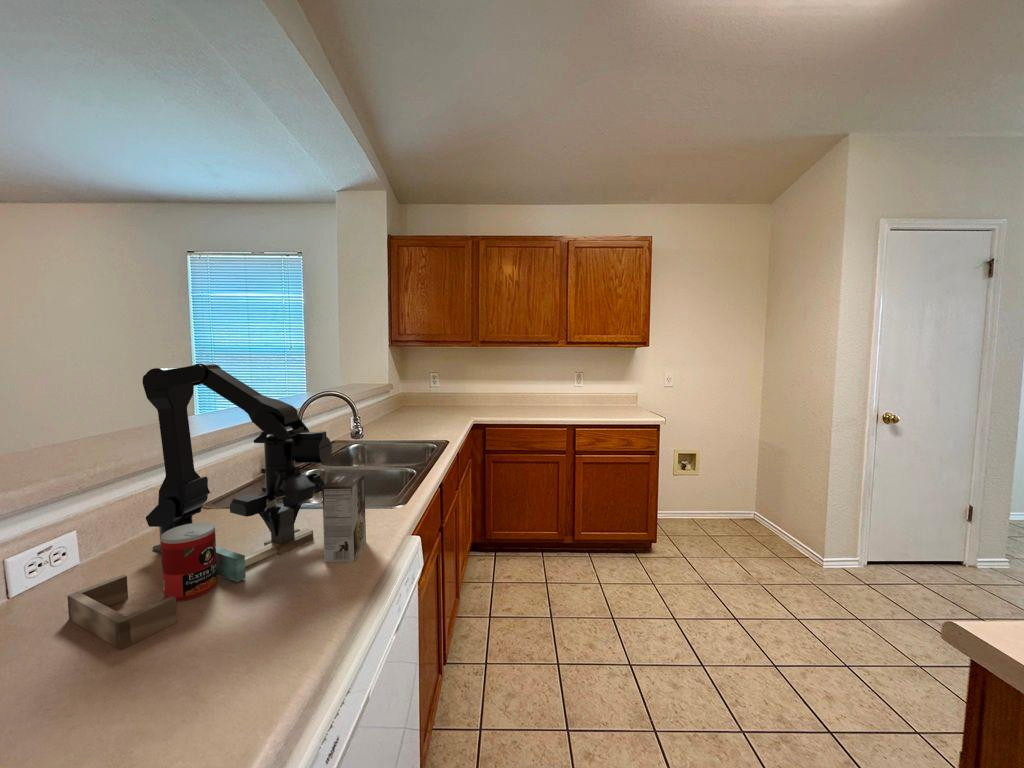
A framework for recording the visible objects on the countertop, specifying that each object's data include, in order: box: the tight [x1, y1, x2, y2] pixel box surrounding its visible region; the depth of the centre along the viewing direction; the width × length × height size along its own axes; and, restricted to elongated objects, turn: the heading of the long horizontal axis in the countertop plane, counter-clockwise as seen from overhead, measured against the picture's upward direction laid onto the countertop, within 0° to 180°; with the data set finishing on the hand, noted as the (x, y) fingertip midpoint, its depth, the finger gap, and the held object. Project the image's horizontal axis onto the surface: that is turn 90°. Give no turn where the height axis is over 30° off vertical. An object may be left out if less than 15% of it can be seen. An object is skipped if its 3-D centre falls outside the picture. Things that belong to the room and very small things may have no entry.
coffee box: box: [321, 473, 367, 563], centre depth 88 cm, size 9×6×16 cm
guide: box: [263, 528, 314, 556], centre depth 92 cm, size 5×8×2 cm
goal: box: [66, 574, 178, 651], centre depth 65 cm, size 16×7×4 cm, turn 65°
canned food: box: [160, 522, 218, 602], centre depth 74 cm, size 8×8×11 cm
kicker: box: [216, 505, 314, 583], centre depth 87 cm, size 11×20×8 cm, turn 155°
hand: (282, 532), depth 90 cm, fingers closed on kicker, 3 cm apart
